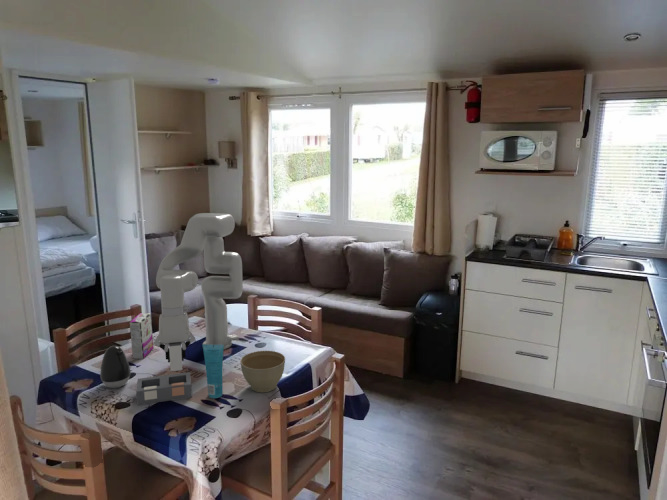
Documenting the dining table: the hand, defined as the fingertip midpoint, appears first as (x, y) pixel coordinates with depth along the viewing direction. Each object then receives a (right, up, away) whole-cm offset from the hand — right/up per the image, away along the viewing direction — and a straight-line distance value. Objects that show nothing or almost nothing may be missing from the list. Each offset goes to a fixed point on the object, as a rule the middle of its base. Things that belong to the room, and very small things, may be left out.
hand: (175, 359), depth 174 cm
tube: (+14, -13, +1) cm, 19 cm away
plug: (0, -3, 0) cm, 3 cm away
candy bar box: (-25, -6, +36) cm, 44 cm away
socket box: (-4, -13, +2) cm, 14 cm away
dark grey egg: (-25, -11, +8) cm, 28 cm away
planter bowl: (+30, -12, +8) cm, 33 cm away
